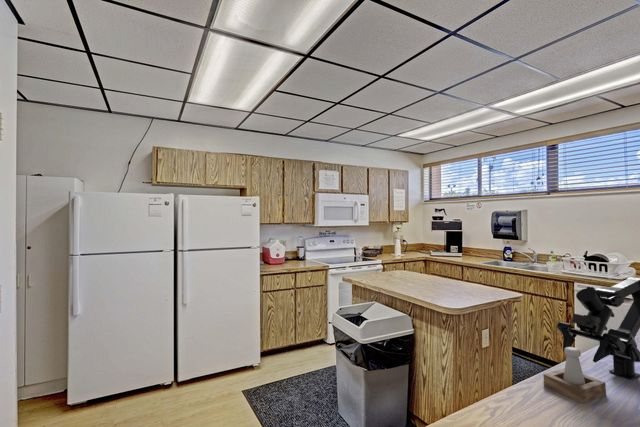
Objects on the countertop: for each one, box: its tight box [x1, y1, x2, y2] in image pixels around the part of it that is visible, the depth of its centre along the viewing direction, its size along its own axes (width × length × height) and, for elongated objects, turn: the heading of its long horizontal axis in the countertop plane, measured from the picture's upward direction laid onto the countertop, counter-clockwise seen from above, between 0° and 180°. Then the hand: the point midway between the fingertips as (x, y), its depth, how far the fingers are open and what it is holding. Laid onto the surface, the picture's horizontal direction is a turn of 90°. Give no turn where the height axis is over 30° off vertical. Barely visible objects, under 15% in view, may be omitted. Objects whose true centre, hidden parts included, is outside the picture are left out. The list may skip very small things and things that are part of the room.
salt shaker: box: [564, 346, 585, 386], centre depth 109 cm, size 6×6×13 cm
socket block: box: [542, 367, 607, 404], centre depth 109 cm, size 12×12×4 cm
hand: (578, 356), depth 111 cm, fingers open, 9 cm apart
